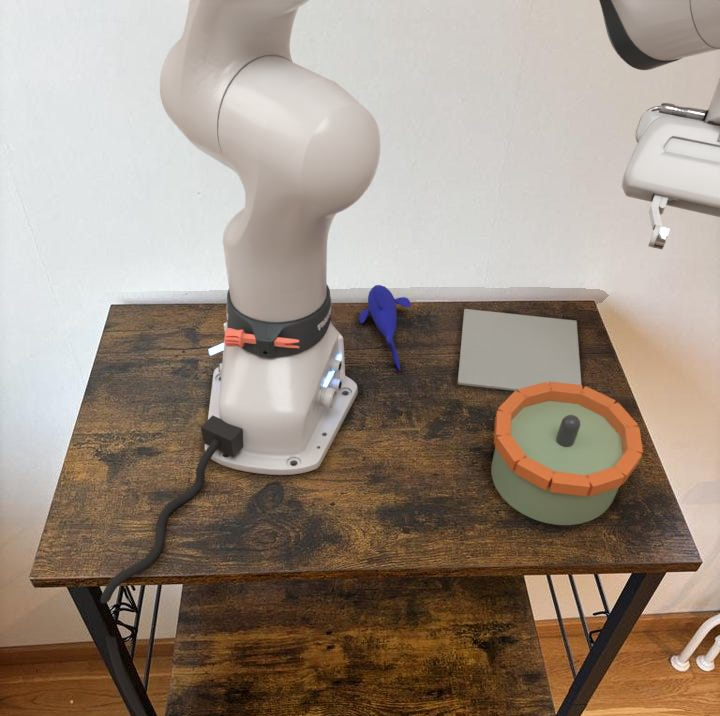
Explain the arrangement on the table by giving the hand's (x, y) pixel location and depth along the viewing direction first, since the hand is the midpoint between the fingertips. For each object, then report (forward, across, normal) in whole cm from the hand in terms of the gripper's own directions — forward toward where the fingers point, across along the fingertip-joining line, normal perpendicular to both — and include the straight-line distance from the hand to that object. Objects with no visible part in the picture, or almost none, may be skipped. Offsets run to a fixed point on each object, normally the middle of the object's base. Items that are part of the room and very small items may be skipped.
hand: (703, 258), depth 74 cm
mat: (+12, -17, +22) cm, 30 cm away
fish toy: (+15, -34, +18) cm, 42 cm away
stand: (+26, -7, +7) cm, 28 cm away
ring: (+22, -7, +3) cm, 23 cm away
